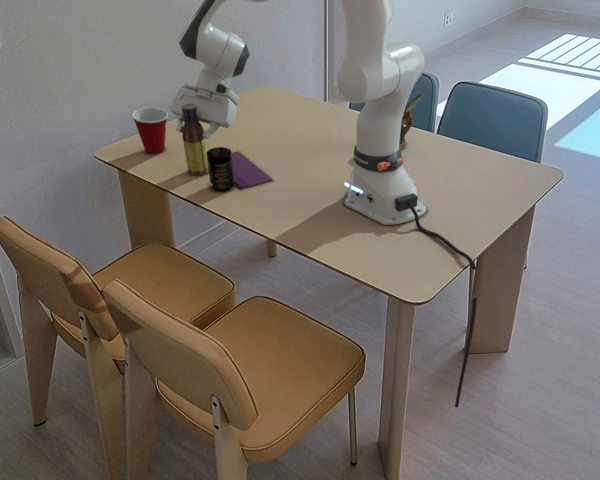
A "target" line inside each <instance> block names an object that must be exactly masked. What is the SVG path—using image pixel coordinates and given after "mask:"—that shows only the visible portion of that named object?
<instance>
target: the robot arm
mask: <svg viewBox="0 0 600 480" xmlns="http://www.w3.org/2000/svg"><path fill="white" fill-rule="evenodd" d="M229 1H230V0H203V2H202V3H201V5H200V6H199V8H198V9H197V11H196V12H195V13H194V15H193V16H192V18H190V20H189V21H188V22H187V23H186V24H185V25H184V26H183V29H182V30H181V32H180V35H179V40H178V45H179V47H180V49H181V51H182V53H183V54H184V56H185V57H187V58H189V59H192V60H194V61H198V62H200V63H202V64H203V68H202V69H201V70H200V71H199V73H198V77H197V79H196V82H195V84H194V85H190V84H188V83H187V84H184V85H182V86H180V87H179V88H178V91H177V92H176V94H175V95H174V97H173V99H172V101H171V103H170V105H169V111H170V112H171V113H172V115H175V116H176V120H177V126H176V131H177V132H178V133H181V134H183V129H184V115H183V112H182V106H183V105H185V104H190V103H192V104H195V105H196V107H197V118H198V121H199V122H200V123H205V124H209V128H208V129H207V130H204V134H203V137H204V138H205V140H211V138H212V135H213V134H215V133H216V132H217V131H218V130H219V128H220V127H221V128H225V129H229V128H230V127H231V126H233V123H234V122H235V118H236V115H237V111H238V107H237V106H238V105H239V104H240V101H241V99H240V97H239V96H238V95H237V94H236V93H235V92H234V91H233V90H232V89H231V88H230V83H231V79H232V78H236V77H238V76H242V74H243V73H244V70H245V67H246V64H247V61H248V59H249V58H250V55H251V54H250V51H249V48H248V46H247V44H246V43H245V42H244V41H243V40H242V38H240V36H239V35H237V34H236V33H234V32H232V31H228V30H221V29H220V28H218V27H216V26H213V25H212V23H211V22H212V20H213V19H214V17H215V16H216V14H217V13H218V12H219V10H220V9H221V7H222V5H224V3H226V2H229ZM244 1H245V2H246V1H247V2H252V3H267V2H270V1H271V0H244ZM341 4H342V9H343V13H344V18H345V19H344V20H345V24H346V45H345V54H344V58H343V60H342V63H341V65H340V67H339V68H338V70H337V74H336V84H337V89H338V91H339V93H340V95H341V96H342V98H343V99H344V100H345V101H346V102H348V103H349V104H355V105H356V104H364V107H363V108H362V109H360V112H359V113H358V115H357V119H356V135H355V145H354V147H353V162H354V165H353V167H352V171H351V173H350V177H349V183H347V182H344V186H346V187H348V192H347V197H346V198H345V199H344V206H346V207H348V208H350V209H352V210H353V211H355V212H357V213H360V214H361V215H363V216H366V217H367V218H369V219H371V220H373V221H375V222H377V223H379V224H381V225H384V226H392V225H393V226H394V225H399V224H405V223H407V222H410V221H413V220H415V225H416V227H417V229H418V230H420V231H421V232H422V233H424V234H426V235H429V236H432V237H435V238H437V239H438V240H440V241H441V242H442V243H444V244H445V245H446V246H447V247H449V248H450V249H451V250H452V251H453V252H455V253H456V254H457V255H459V256H462V257H463V258H465V259H466V260H467V261H468V263H469V264H470V266H471V269H472V270H473V271H476V270H477V266H476V264H475V262H474V260H473V258H471V256H469V255H468V254H467V253H465V252H464V251H462V250H460V249H458V248H457V247H456V246H454V244H452V243H451V242H450V241H449V240H447V239H446V237H445V238H444V236H442V235H441V234H439V233H437V232H434V231H431V230H428V229H425V228H424V227H422V225H421V223H420V217H421V216H423V215H425V213H426V212H427V207H426V206H425V205H424V204H423V202H421V201H420V200H419V196H418V189H417V186H416V185H417V183H416V179H414V178H411V177H410V175H409V174H408V172H407V170H406V168H405V167H404V165H403V163H404V162H406V160H405V159H406V156H404V157H403V156H402V149H401V150H400V147H399V141H400V131H401V123H402V118H403V114H404V110H405V108H406V106H407V105H408V101H409V100H410V97H411V93H412V91H413V89H414V87H415V85H416V83H417V82H418V80H419V79H420V78H421V76H422V75H423V73H424V70H425V67H426V65H425V64H426V61H425V56H424V53H423V51H422V49H421V48H420V47H419V46H418V45H417V44H416V43H414V42H412V41H394V42H390V43H387V34H388V29H389V26H390V24H391V22H392V20H393V18H394V13H395V12H394V5H393V2H392V0H341ZM477 298H478V297H474V298H472V302H471V303H472V304H471V315H470V322H469V329H468V334H467V335H468V336H467V341H466V346H465V351H464V357H463V361H462V366H461V371H460V377H459V381H458V386H457V392H456V398H455V403H454V407H455V408H459V404H460V398H461V393H462V388H463V383H464V377H465V373H466V369H467V368H466V367H467V364H468V358H469V353H470V349H471V343H472V338H473V333H474V326H475V321H476V320H475V319H476V311H477Z"/></svg>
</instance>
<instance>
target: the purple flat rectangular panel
mask: <svg viewBox="0 0 600 480" xmlns="http://www.w3.org/2000/svg"><path fill="white" fill-rule="evenodd" d="M231 153H232V166H233V177H234V186H236V187H237V188H238V189H239V190H243V189H248V188H251V187H254V186H258V185H263V184H266V183H269V182H273V179H272V178H271V177H270V176H269V175H268V174H266V173H265V172H264V171H263V170H261V169H260V168H259V166H257V165H255V164H254V163H253V162H252V161H250V160H249V159H248V158H247V157H246V156H244V155H243V154H242V153H241V152H239V151H235V152H231Z"/></svg>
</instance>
